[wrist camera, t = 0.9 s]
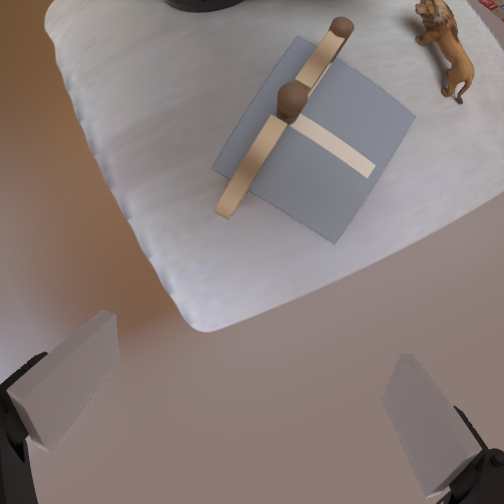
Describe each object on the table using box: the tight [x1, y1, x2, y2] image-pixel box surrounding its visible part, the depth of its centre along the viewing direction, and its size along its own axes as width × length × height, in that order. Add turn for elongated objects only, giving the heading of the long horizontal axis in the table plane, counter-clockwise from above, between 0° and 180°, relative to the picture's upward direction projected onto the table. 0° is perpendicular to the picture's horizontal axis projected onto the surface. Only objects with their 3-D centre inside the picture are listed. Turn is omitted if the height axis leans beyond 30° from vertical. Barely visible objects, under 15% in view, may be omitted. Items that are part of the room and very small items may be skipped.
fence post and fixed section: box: [276, 17, 354, 125], centre depth 23 cm, size 12×2×11 cm, turn 149°
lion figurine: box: [415, 0, 474, 104], centre depth 20 cm, size 15×5×9 cm, turn 34°
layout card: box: [212, 36, 416, 244], centre depth 30 cm, size 20×18×1 cm
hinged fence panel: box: [214, 115, 287, 220], centre depth 27 cm, size 10×2×8 cm, turn 149°
